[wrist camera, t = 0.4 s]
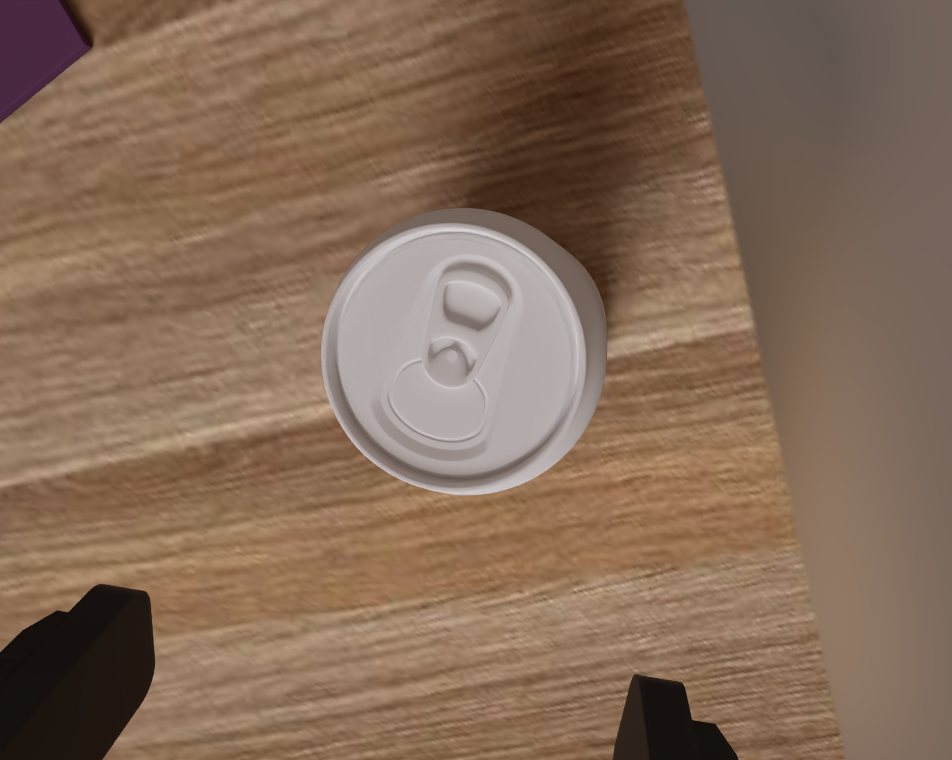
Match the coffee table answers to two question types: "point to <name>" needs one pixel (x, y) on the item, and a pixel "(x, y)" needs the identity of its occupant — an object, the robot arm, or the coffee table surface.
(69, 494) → the coffee table surface
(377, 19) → the coffee table surface
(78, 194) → the coffee table surface
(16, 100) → the cloth
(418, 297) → the beverage can
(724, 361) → the coffee table surface
